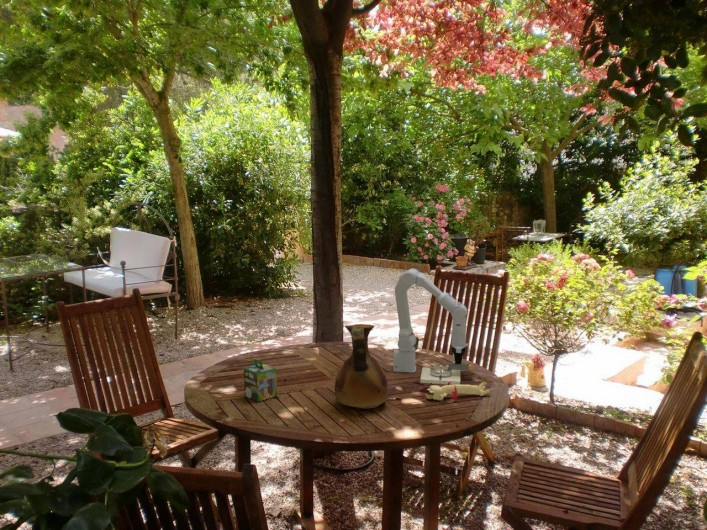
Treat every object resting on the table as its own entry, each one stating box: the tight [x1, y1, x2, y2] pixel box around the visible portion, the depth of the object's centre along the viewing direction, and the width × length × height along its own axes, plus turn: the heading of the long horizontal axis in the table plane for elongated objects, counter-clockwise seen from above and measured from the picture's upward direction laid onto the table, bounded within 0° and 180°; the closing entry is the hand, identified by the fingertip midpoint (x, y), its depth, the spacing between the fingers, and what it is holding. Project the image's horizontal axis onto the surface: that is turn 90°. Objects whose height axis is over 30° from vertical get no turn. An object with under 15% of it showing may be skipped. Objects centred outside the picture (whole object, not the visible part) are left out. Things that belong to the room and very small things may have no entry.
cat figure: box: [424, 375, 491, 401], centre depth 230 cm, size 10×9×25 cm
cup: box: [414, 336, 420, 352], centre depth 286 cm, size 8×7×8 cm
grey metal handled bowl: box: [429, 362, 474, 377], centre depth 252 cm, size 18×9×5 cm, turn 80°
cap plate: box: [419, 366, 461, 385], centre depth 253 cm, size 16×16×2 cm
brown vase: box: [334, 323, 389, 409], centre depth 221 cm, size 20×20×30 cm
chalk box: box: [243, 358, 278, 403], centre depth 229 cm, size 9×9×15 cm
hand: (458, 364), depth 256 cm, fingers closed
